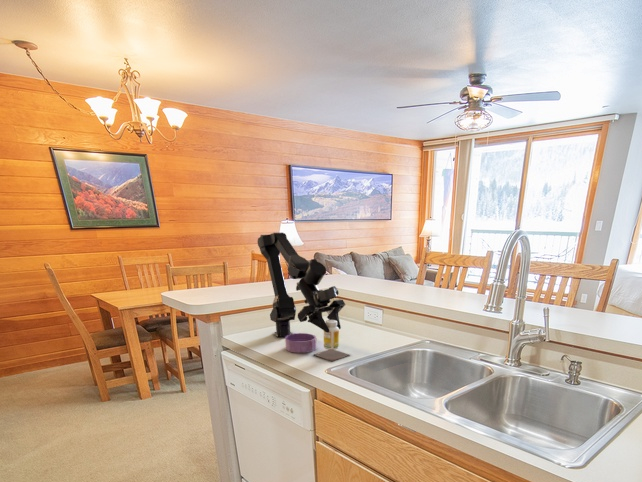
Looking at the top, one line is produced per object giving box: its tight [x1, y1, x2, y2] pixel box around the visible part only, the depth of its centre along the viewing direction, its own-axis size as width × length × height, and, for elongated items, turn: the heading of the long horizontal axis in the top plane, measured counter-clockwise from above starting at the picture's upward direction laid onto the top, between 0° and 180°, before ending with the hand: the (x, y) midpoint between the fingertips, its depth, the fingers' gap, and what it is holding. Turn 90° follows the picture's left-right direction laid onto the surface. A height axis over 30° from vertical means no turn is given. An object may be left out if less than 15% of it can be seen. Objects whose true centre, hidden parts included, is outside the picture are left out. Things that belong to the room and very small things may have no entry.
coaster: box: [313, 349, 350, 362], centre depth 146 cm, size 9×9×1 cm
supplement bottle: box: [323, 319, 340, 350], centre depth 143 cm, size 5×5×10 cm
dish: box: [284, 332, 317, 354], centre depth 151 cm, size 11×11×4 cm
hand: (334, 330), depth 142 cm, fingers closed on supplement bottle, 5 cm apart
